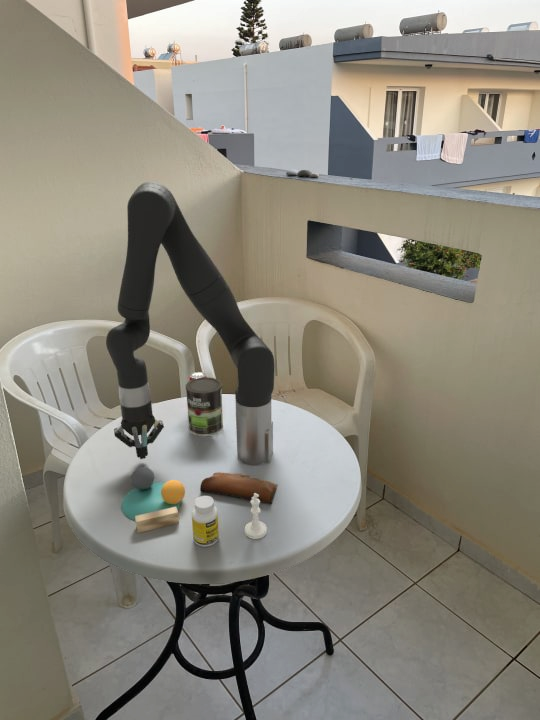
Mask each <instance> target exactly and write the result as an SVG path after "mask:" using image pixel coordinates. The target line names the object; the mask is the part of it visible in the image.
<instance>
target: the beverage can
mask: <svg viewBox="0 0 540 720" xmlns="http://www.w3.org/2000/svg"><path fill="white" fill-rule="evenodd" d="M203 377H207V375H206V373H204V372H201V371H200V372H199V371H198V372H197V371H195V372H193V373H190V376H189V381H191V380H193V379H196V378H203Z"/></svg>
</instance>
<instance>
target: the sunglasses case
mask: <svg viewBox="0 0 540 720" xmlns="http://www.w3.org/2000/svg"><path fill="white" fill-rule="evenodd" d="M199 487H200V488H199V490H200V492H203V493H209V494H216V495H217V494H219V495H227V496H231V497H236V498H241V499H246V500H250V501H251V500H252V497H253V496H254V493H256V494H258V495H259V497H257V499H259V500H260V503H261V502H262V503H265V504H270V505H272V503H273V500H274V497H275V495H276V493H277V492H276V491H277V487H278V484H277V483H275V482H272V481H268V480H266V479H265V480H264V479H261V478H256V477H251V475H249V474H244V473H228V472H219V471H218V472H214V473H213V474H212V475H211V476H209V477H205V478H203V480H202V481H201V483H200V486H199Z"/></svg>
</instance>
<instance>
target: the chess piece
mask: <svg viewBox="0 0 540 720" xmlns="http://www.w3.org/2000/svg"><path fill="white" fill-rule="evenodd" d="M257 497H259V495H258V494H256V493H254V496H253V497H252V500H250V504H251V508H250V513H251V514H252V521H249V522H248V523H246V525H245V527H244V534H245V536H246V537H247V538H250V539H253V540H259V539H262V538H264V537H265V536H266V534H267V533H268V527H267V525H266V524H265V523H264V522H262V521H260V518H259V514H260V513H261V512H262V511H261V508H260V507H259V506H260V503H261V501H260V500H259V499H257Z"/></svg>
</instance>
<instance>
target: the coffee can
mask: <svg viewBox="0 0 540 720" xmlns="http://www.w3.org/2000/svg"><path fill="white" fill-rule="evenodd" d="M222 387H223V383H222V381H220V380H219V379H217V378H214V377H207V376H206V377H203V378H196V379H193V380H191V381H190V380H189V381H188V382H187V383H186V384H185V390H186V405H187V406H186V407H187V417H188V418H187V419H188V421H187V422H188V431H189V432H190V434H192V435H194V436H196V437H197V436H198V437H210V436H211V437H212V436H214V435H217V434H219V433H220V432H222V430H223V429H224V420H223V419H224V418H223V390H222Z"/></svg>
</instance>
